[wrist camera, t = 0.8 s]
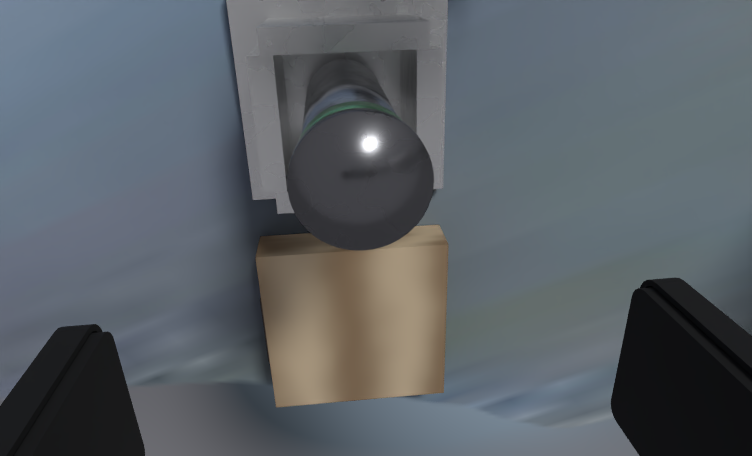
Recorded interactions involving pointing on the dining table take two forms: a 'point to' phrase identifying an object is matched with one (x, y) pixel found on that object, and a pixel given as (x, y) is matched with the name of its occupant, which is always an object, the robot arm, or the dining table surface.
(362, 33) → the stand base
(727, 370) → the robot arm
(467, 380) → the dining table surface
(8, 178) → the dining table surface
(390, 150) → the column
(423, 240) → the tan flat square block
